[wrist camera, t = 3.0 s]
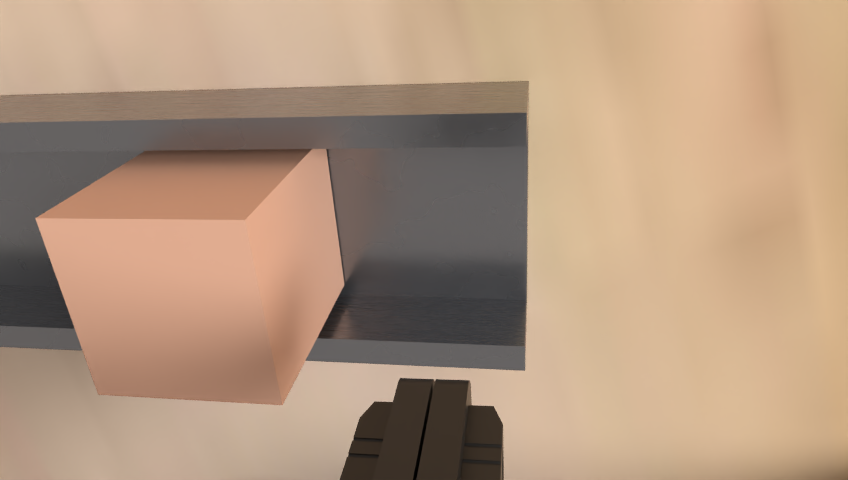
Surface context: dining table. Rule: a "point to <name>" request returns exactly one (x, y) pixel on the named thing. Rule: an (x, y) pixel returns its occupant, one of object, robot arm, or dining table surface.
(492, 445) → the robot arm
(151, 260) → the terracotta block
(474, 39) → the dining table surface
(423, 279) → the chute
